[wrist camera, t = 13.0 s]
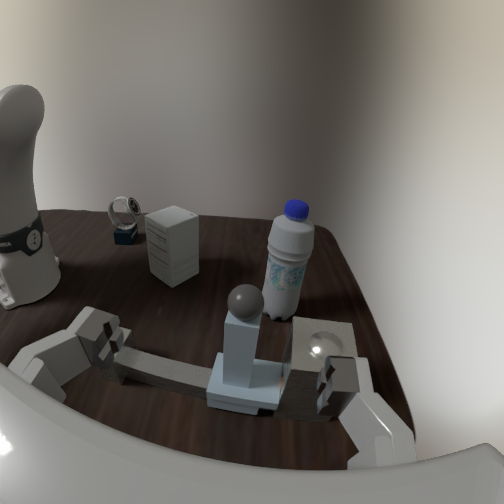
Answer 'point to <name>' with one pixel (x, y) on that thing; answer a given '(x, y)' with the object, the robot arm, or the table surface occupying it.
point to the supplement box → (173, 244)
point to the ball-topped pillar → (243, 359)
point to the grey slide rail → (293, 362)
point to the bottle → (287, 260)
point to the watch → (125, 230)
